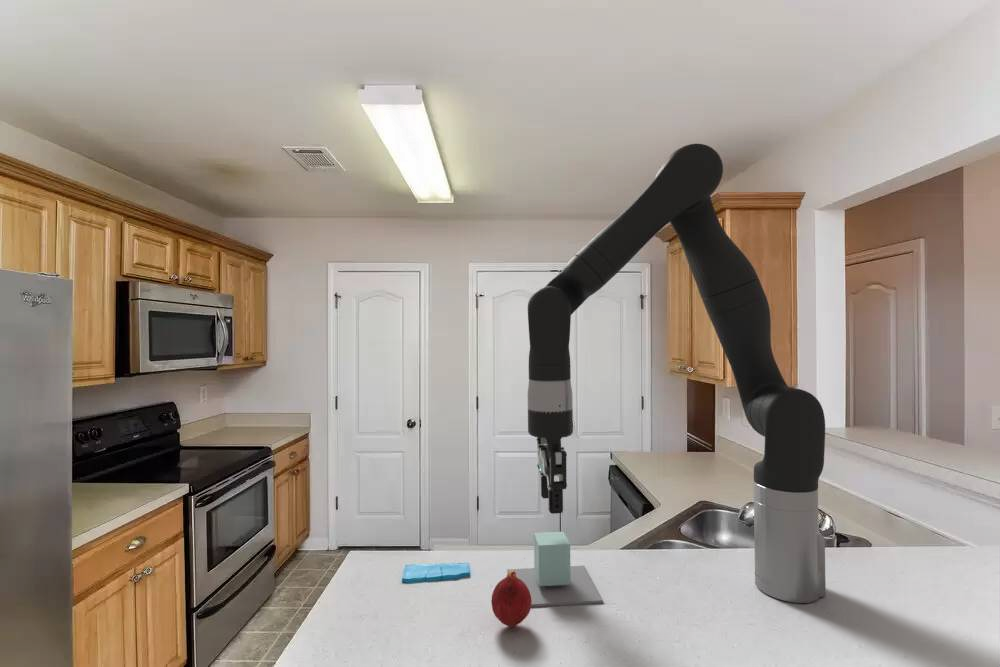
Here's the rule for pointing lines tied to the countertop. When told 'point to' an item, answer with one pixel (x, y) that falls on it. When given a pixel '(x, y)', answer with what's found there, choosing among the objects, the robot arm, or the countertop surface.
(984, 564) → the countertop surface
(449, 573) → the sponge
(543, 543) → the mint green square prism
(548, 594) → the mat
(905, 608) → the countertop surface
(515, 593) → the onion
